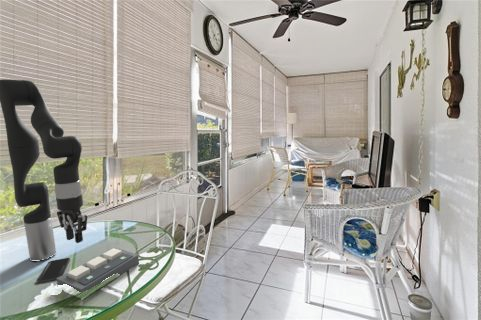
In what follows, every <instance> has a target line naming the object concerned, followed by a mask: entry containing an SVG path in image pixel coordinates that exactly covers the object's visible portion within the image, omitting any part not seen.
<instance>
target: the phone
mask: <svg viewBox="0 0 481 320" xmlns="http://www.w3.org/2000/svg"><path fill="white" fill-rule="evenodd" d="M70 262H71V258H70V257H66V258H60V259H54V260H50V261H48V262H47V264H46V265H45V267H44V269H43V270H42V272H41V273H40V274H39V276H38V278H37V280H36V284H43V283H48V282H53V281H57V278H58V277H60V276H62V275H64V274H65V273H66V272H65V271H66V270H67V268H68V266H69V264H70Z"/></svg>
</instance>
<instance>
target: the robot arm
mask: <svg viewBox="0 0 481 320" xmlns="http://www.w3.org/2000/svg"><path fill="white" fill-rule="evenodd" d="M0 105H1V106H0V107H1V111H2V115H3V119H4V126H5V131H6V139H7V140H6V141H7V148H8V153H9V157H10V158H9V159H10V163H11V168H12V176H13V177H12V178H13V186H14V187H13V188H14V189H13V190H14V198H15V203H16V205H17V206H18V207H20V208H25V207H26V208H27V207H31V206H32V207H33V206H37V205H38V206H37V207H36V208H34V209H33V210H30V211H29V212H27V213H26V214H24V215H23V224H24V225H23V226H24V229H25V230H24V232H25V237H26V243H27V248H28V255H29V260H30V259H31V260H42V259H47V258H48V257H50V256H52V255H54V254H55V253H56V254H57V250H56V249H57V248H56V243H55V235H54V229H53V228H54V227H53V221H52V214H51V208H50V198H49V197H50V195H49V189H48V185H47V183H46V182H44V181H43V182H42V181H40V182H33V183H26V179H27V176H28V174H29V172H30V171H31V170H32V168H33V167H34V165H35V163H36V162H37V161H38V159H39V157H40V153H41V152H40V144H39V143H40V142H39V139H38V137H37V135H38V136H39V138H40V140H41V144H42V149H43V152H44V153H43V154H44V155H45V156H47V157H48V158H50V159H62V158H64V159H65V158H66V159H65V162H63V163H60V164H58V165H56V166H54V167H53V168H52V169H53V170H52V171H53V172H52V173H53V177H54V179H53V180H54V193H55V201H56V208H57V210H58V211H57V212H56V215H57V218H58V222H59V226H60V228H61V229H63V230H64V231H65V236H66V240H67V241H70V240H71V241H72V239H74V242H75V243H76V244H79V243H82V242H83V241H84V237H83V232H85V231H86V230H87V225H88V215H86V214H85V215H83V214H82V211H81V208H82V207H83V206H84V200H83V192H82V186H81V179H80V174H79V165H80V160H81V157H82V156H81V154H82V150H83V147H82V143H81V140H80V139H79V138H78V137H77V136H73V135H68V136H67V135H65V136H64V134H65V132H64V131H65V130H64V128H63V127H62V126H61V125H60V123H59V122H58V120H57V119H56V118H55V117H54V116H53V114H52V113H51V110H50V109H49V107H48V105H47V103H46V101H45V99H44V96H43V95H42V93H41V91H40V89H39V87H38V86H37V85H36V84H35V82H33V81H30V80H25V79H22V80H21V79H6V78H5V79H0ZM17 106H19V107H20V106H21V107H23V106H24V107H26V106H32V107H33V111H32V113H31V115H30V123H31V126H32V128H33V129H34V131H36V133H37V135H36V134H35V133H34V132H33V131H32V130H31V129H30V128H29V127H28V126H27V125H26V124H25V122H23V121H22V119H21V118H20V116H19V115H18V113H17V110H16V107H17ZM25 183H26V184H25ZM56 254H55V255H56ZM55 255H54V256H55ZM47 260H48V259H47Z"/></svg>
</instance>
